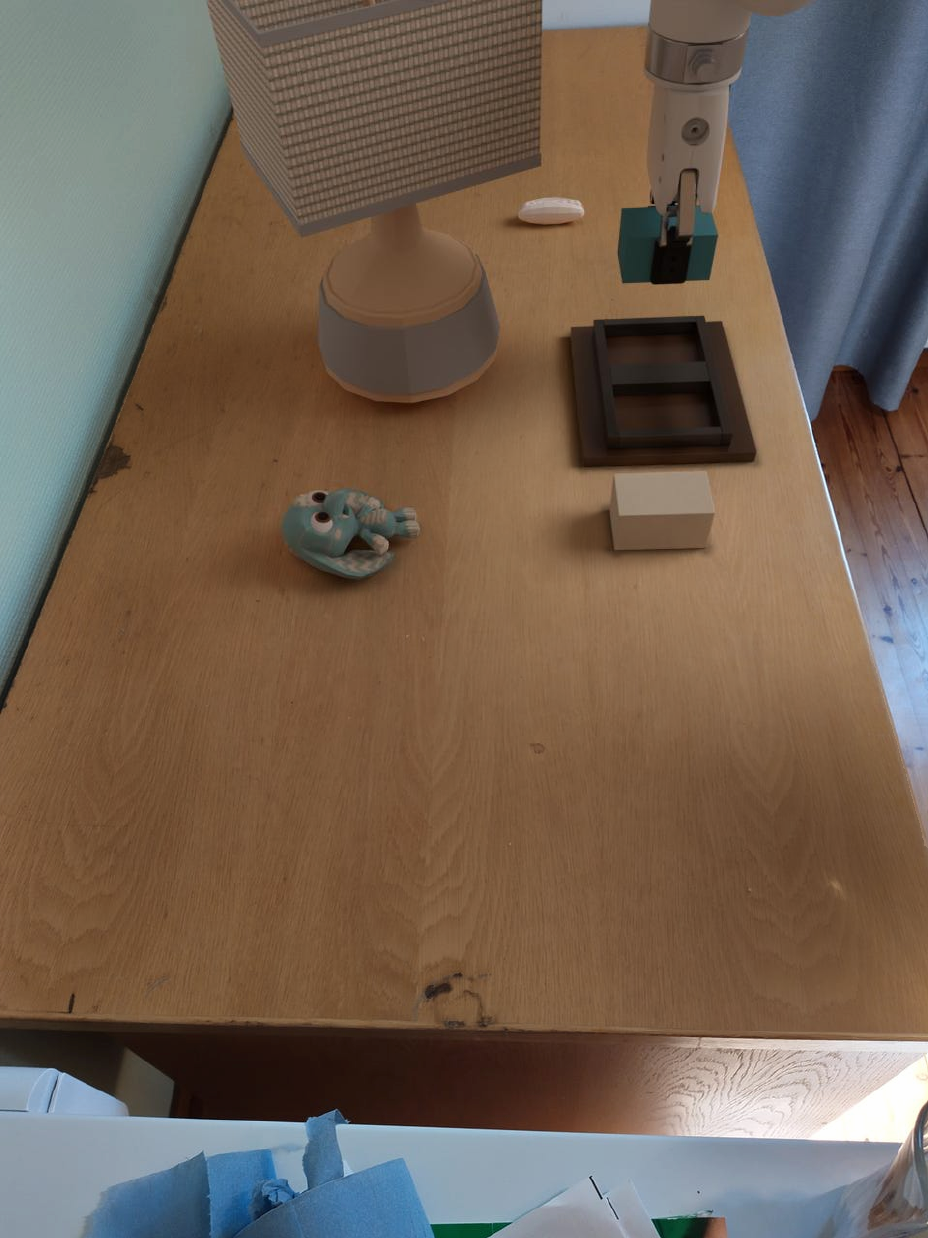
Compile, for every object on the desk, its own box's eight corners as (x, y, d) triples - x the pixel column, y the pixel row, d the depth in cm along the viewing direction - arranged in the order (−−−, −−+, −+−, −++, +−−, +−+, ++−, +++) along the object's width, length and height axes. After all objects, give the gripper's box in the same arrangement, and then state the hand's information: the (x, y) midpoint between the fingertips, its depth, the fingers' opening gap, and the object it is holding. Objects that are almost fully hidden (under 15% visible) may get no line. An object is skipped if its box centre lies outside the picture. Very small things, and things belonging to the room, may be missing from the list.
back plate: (720, 330, 95) (724, 308, 93) (754, 461, 83) (760, 439, 81) (570, 336, 96) (571, 314, 94) (582, 466, 84) (584, 445, 82)
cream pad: (698, 506, 80) (706, 470, 77) (706, 548, 77) (715, 512, 74) (609, 508, 81) (613, 473, 77) (614, 550, 78) (618, 515, 74)
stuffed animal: (434, 533, 73) (285, 542, 70) (425, 589, 78) (287, 600, 76) (412, 445, 79) (274, 451, 76) (405, 503, 85) (277, 510, 82)
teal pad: (701, 249, 85) (709, 203, 81) (709, 280, 82) (718, 234, 78) (617, 252, 85) (621, 207, 82) (622, 283, 82) (626, 238, 79)
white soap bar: (583, 226, 108) (585, 204, 106) (518, 228, 109) (518, 206, 107) (582, 212, 110) (584, 190, 108) (518, 215, 111) (518, 193, 108)
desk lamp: (465, 284, 103) (442, -115, 73) (544, 377, 92) (555, -45, 63) (287, 342, 98) (186, -60, 68) (349, 447, 87) (261, 26, 58)
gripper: (764, 98, 63) (718, 318, 78) (725, 2, 73) (691, 213, 88) (658, 103, 64) (632, 321, 78) (634, 7, 74) (615, 216, 89)
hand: (663, 262), depth 83 cm, fingers closed on teal pad, 5 cm apart
